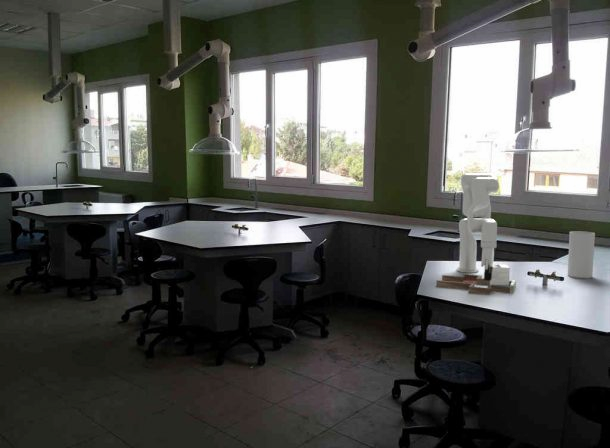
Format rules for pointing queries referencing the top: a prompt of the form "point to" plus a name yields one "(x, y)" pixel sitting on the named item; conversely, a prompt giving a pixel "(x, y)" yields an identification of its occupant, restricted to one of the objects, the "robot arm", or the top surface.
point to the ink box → (500, 275)
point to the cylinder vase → (581, 254)
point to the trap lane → (471, 279)
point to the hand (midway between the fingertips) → (487, 279)
